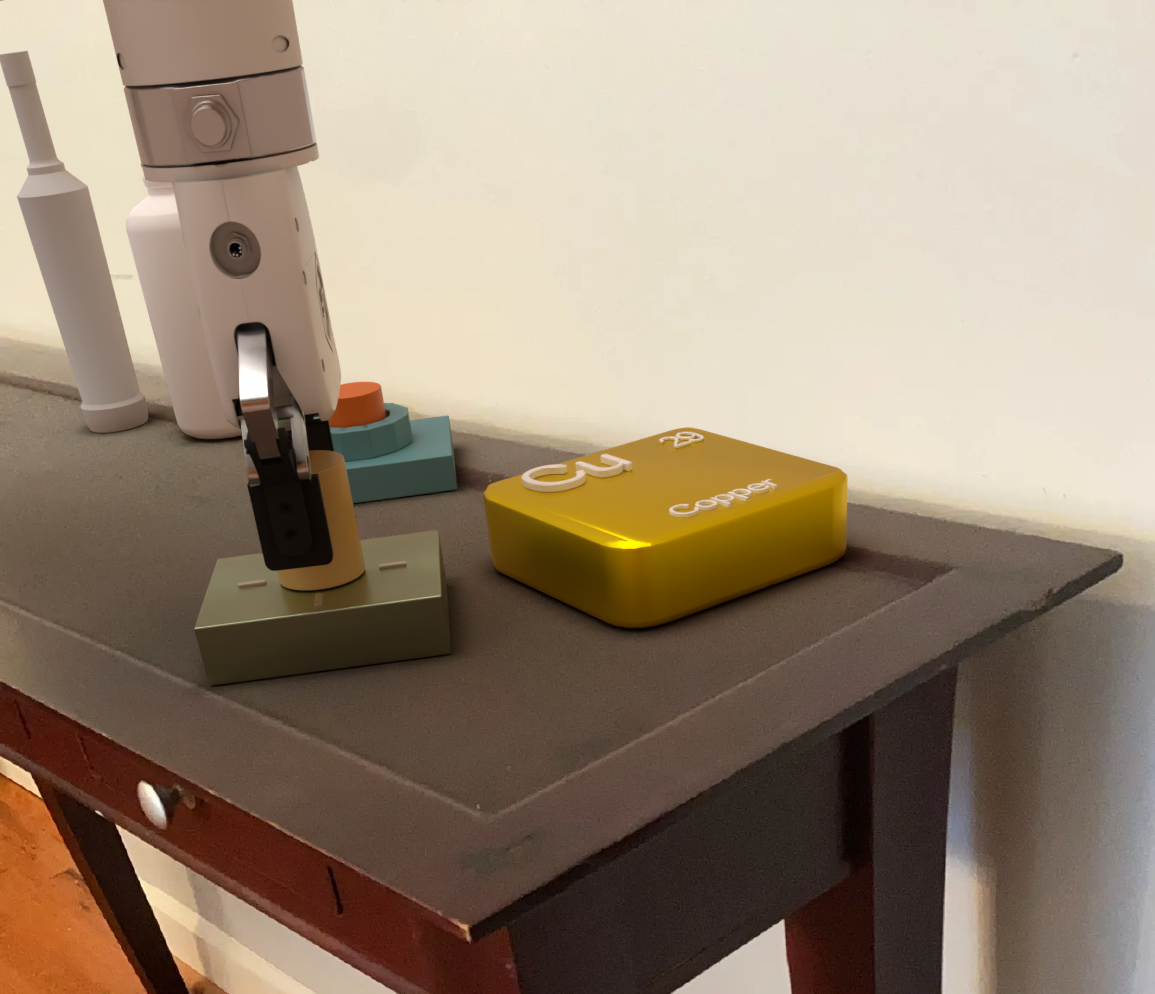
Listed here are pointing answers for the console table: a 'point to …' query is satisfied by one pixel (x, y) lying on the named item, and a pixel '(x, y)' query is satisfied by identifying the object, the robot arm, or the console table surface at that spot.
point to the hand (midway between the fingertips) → (306, 531)
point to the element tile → (666, 525)
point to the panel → (326, 614)
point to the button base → (397, 456)
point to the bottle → (73, 266)
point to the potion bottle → (175, 313)
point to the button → (358, 405)
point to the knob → (332, 529)
